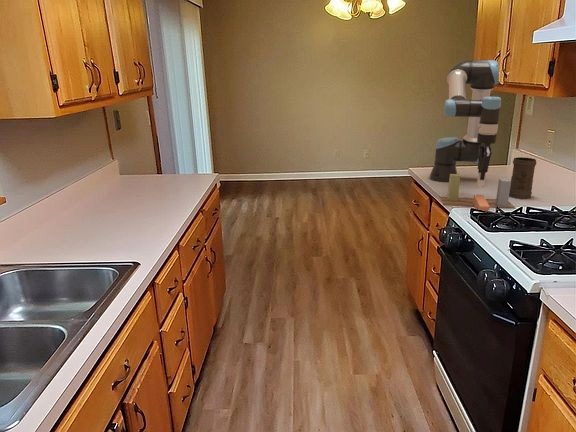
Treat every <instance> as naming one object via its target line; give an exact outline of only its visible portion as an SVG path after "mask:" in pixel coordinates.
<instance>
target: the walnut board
mask: <svg viewBox="0 0 576 432" xmlns="http://www.w3.org/2000/svg"><path fill="white" fill-rule="evenodd" d="M447 197H448V196H439V200H440V202H441V204H442V205H443V207H462V208H463V207H464V208H475V206H474V204H473V199H474V197H458V201H448V199H447ZM485 199H486V201H487V203H488V205H489V209H508V210H509V209H510V210H517V208H516V207H515V205H513V204H512V203H511V202H510V201H509V200H508V205H507V207H498V208H497V206H496V205H495V204H496V198H485Z"/></svg>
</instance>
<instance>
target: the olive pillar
mask: <svg viewBox="0 0 576 432" xmlns="http://www.w3.org/2000/svg"><path fill="white" fill-rule="evenodd" d="M460 183H461V175H460V174H459V173H457V174H450V178H449V182H448V188H447V196H446V197H447V199H448V201H458V198H459V191H460Z"/></svg>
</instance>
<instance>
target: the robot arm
mask: <svg viewBox="0 0 576 432" xmlns="http://www.w3.org/2000/svg"><path fill="white" fill-rule="evenodd" d="M499 80H500V66H499V62H498V61H497V60H493V59H475V60H473V59H472V60H469V59H468V60H467V59H466V60H462V61H459V62H458V63H455V65H453V66H452V67H451V68H450V69H449V71H448V73H447V75H446V82H447V84H448V99H445V100H444V101H445V102H444V109H443V114H444V116H446V117H451V118H454V117H455V118H456V117H458V118H459V117H461V118H462V117H468V123H467V130H466V134H465V135H464V136H463V138H462V139H461V140H460V138H459V137H458V136H457V137H455V136H452V137H451V136H450V137H443V138H442V137H441V138H439V139H437V140H436V144H435V154H434V156H435V157H434V163H433V167H432V169H431V171H430V173H429V174H430V175H429V179H431V180H432V181H435V182H441V181H442V182H443V183H444V182H445V183H449V178H450V174H458V171H457V170H458V169H457V162H460V163H461V162H464V163H473V164H475V163H477V169H478V170H477V172H478V175H477V181H476V187H477V188H484V187H485V181H486V174H487V173H488V172H489V166H490V161H491V156H492V154H493V153H492V147H491V145H492V144H493V145H494V144H495V143H496V142H497V133H498V129H499V118H500V112H501V107H502V98H501V97H500V96H490V95H491V92H492V91H493V90H494V89H495V86H497V85H498V84H499ZM466 85H470V86H469V88H470V89H471V91H472V94H471V99H467V93H466V91H467V90H466Z"/></svg>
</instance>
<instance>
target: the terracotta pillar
mask: <svg viewBox="0 0 576 432" xmlns="http://www.w3.org/2000/svg"><path fill="white" fill-rule="evenodd" d="M473 198H474V199H473V204H474V206H475V207H474V208H475V209H476V210H477V209H478V210H482V211H488V213H489V211H490V208H489V205H488V203H487V201H486V199H487V198H485V195H484V194H474V195H473Z"/></svg>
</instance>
